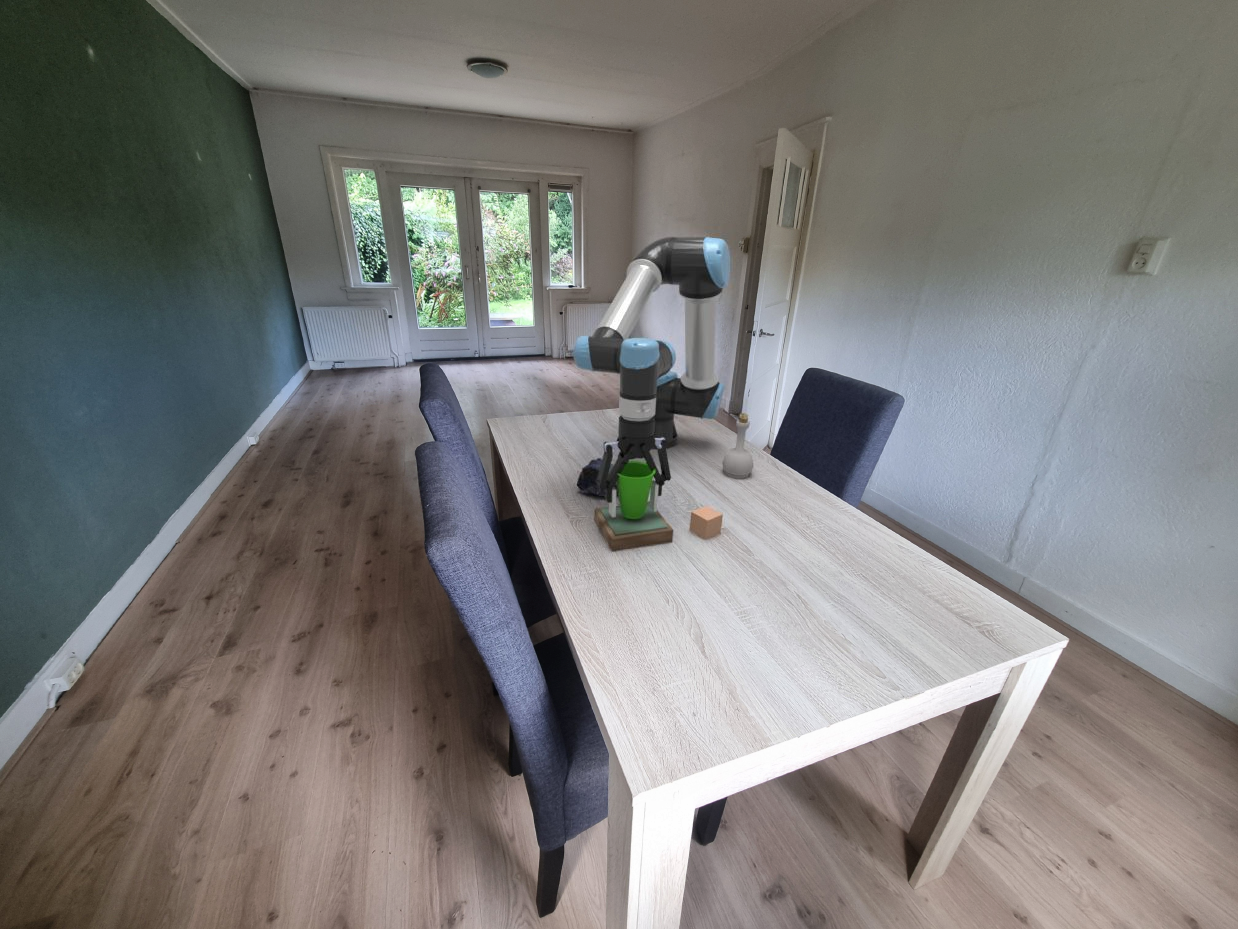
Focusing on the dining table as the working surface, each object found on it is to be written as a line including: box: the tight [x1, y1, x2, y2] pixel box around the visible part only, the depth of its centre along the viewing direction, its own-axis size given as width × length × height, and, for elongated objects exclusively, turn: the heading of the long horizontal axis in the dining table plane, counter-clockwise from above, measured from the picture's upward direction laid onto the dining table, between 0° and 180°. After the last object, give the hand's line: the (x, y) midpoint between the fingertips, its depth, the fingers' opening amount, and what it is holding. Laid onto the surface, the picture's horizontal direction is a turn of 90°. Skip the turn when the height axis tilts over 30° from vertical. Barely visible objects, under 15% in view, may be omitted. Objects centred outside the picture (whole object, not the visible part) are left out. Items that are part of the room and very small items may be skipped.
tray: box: [593, 500, 674, 552], centre depth 112 cm, size 14×14×3 cm
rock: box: [576, 457, 619, 497], centre depth 129 cm, size 11×10×10 cm
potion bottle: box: [721, 412, 755, 479], centre depth 140 cm, size 9×9×18 cm
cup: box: [617, 460, 656, 519], centre depth 109 cm, size 9×9×11 cm
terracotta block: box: [689, 505, 724, 541], centre depth 112 cm, size 5×5×5 cm
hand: (632, 511), depth 111 cm, fingers open, 9 cm apart
